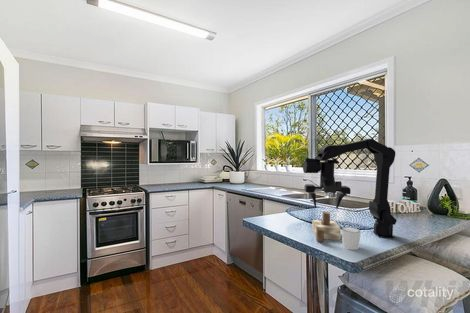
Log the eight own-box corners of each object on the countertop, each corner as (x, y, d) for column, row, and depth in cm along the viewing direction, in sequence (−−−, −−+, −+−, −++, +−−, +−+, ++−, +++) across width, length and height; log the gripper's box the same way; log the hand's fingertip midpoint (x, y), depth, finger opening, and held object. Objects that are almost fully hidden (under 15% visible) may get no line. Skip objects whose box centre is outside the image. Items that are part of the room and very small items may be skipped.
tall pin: (328, 233, 110) (328, 212, 110) (329, 235, 108) (330, 213, 107) (322, 233, 111) (322, 211, 110) (323, 235, 108) (324, 213, 108)
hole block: (334, 231, 114) (334, 220, 113) (340, 239, 104) (340, 228, 103) (312, 230, 115) (312, 219, 115) (316, 238, 105) (316, 226, 105)
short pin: (322, 240, 103) (322, 228, 103) (323, 242, 100) (324, 230, 100) (316, 239, 103) (316, 228, 103) (317, 242, 101) (317, 230, 101)
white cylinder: (354, 252, 92) (355, 234, 91) (337, 245, 97) (338, 228, 97) (363, 247, 96) (364, 230, 95) (346, 242, 101) (347, 225, 101)
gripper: (308, 174, 101) (307, 211, 102) (355, 176, 99) (354, 214, 99) (304, 172, 112) (303, 205, 113) (347, 173, 110) (345, 207, 110)
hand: (326, 208), depth 109 cm, fingers open, 9 cm apart
